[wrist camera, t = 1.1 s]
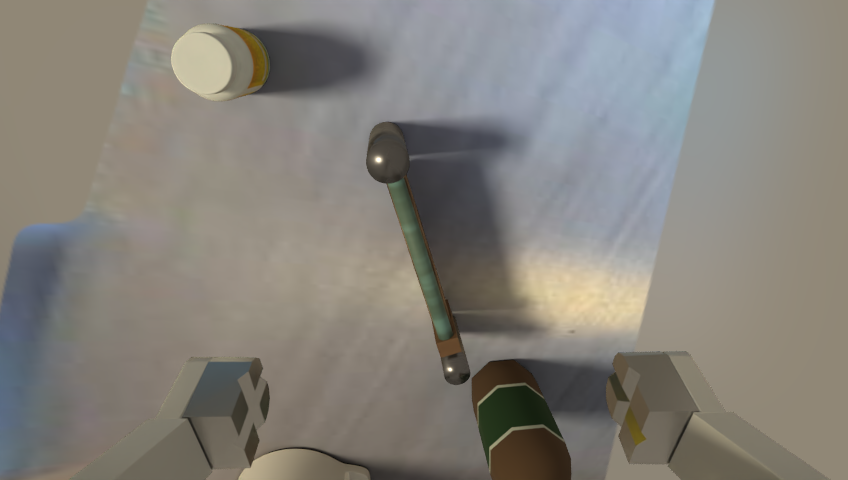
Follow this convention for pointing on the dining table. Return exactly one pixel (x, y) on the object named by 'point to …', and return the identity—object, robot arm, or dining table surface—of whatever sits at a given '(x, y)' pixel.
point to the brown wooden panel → (424, 267)
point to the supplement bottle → (220, 62)
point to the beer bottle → (517, 425)
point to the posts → (389, 167)
